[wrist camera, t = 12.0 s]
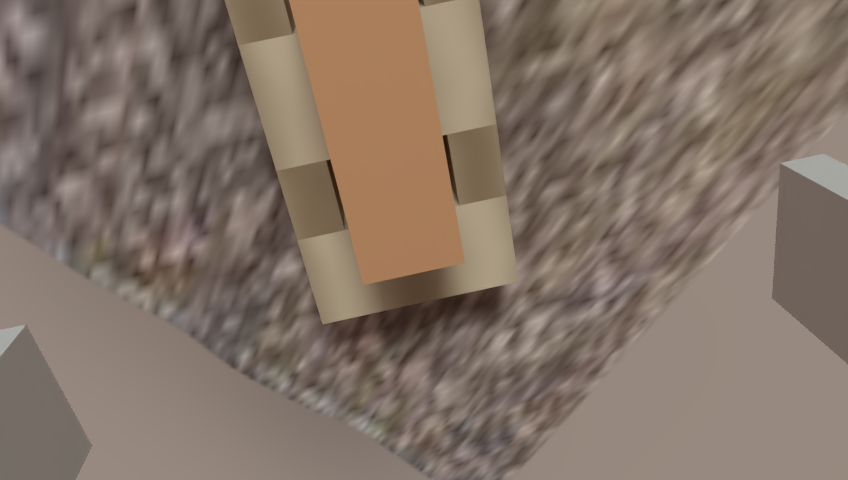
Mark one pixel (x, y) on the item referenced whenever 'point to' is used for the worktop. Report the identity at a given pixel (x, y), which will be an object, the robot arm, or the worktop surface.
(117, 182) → the worktop surface
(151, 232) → the worktop surface
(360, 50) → the orange-brown block
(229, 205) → the worktop surface
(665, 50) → the worktop surface
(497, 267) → the beige flat slotted piece
